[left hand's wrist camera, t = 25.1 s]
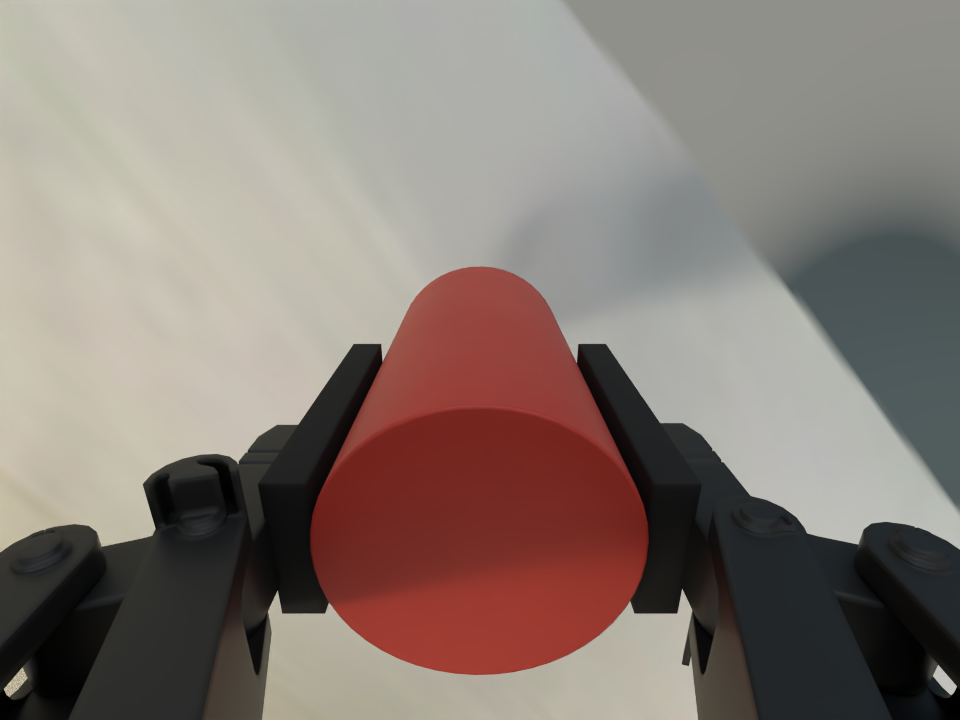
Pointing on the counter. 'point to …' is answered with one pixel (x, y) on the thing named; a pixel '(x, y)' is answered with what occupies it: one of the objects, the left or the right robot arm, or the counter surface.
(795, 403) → the counter surface
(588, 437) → the can
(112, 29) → the counter surface
